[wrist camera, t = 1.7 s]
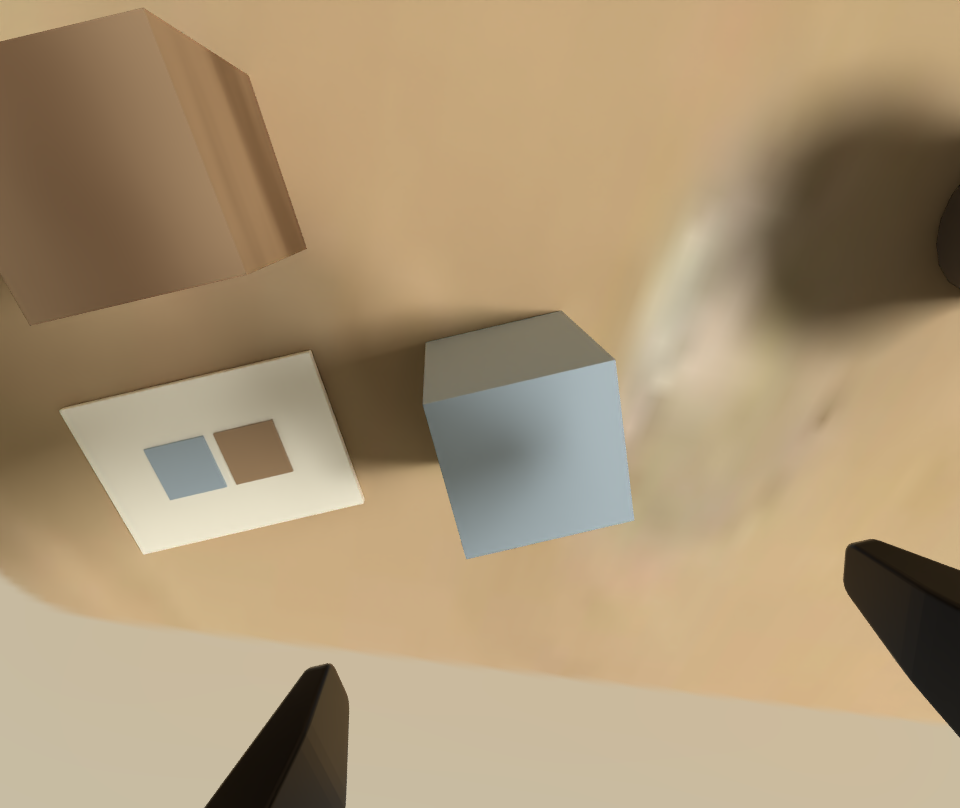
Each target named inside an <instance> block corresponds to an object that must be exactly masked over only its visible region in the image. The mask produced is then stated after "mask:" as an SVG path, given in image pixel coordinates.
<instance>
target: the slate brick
mask: <svg viewBox="0 0 960 808" xmlns="http://www.w3.org/2000/svg"><path fill="white" fill-rule="evenodd" d="M423 408H424V411H425V415H426V418H427V422H428V425H429V429H430V432H431V436H432V440H433V443H434V447H435V450H436V454H437V457H438V461H439V464H440V468H441V471H442V475H443V479H444V482H445V486H446V489H447V493H448V496H449V500H450V503H451V507H452V510H453V514H454V517H455V521H456V525H457V528H458V532H459V535H460V539H461V542H462V546H463V549H464V553H465V556H466V559H470V558H474V557H478V556H483V555H487V554H491V553H496V552H500V551H504V550H509V549H513V548H517V547H522V546H526V545H530V544H535V543H539V542H543V541H548V540H552V539H556V538H560V537H565V536H569V535H573V534H578V533H582V532H586V531H591V530H595V529H599V528H604V527H608V526H612V525H617V524H621V523H625V522H629V521H634V514H633V506H632V497H631V489H630V480H629V472H628V463H627V455H626V446H625V438H624V429H623V421H622V412H621V404H620V395H619V387H618V379H617V370H616V362H615V359H614V358H613V357H612V356H611V355H609V354H608V353H607V352H606V351H605V350H604V349H603V348H602V347H601V346H600V345H599V344H597V343H596V342H595V341H594V340H593V339H592V338H591V337H590V336H589V335H588V334H586V333H585V332H584V331H583V330H582V329H581V328H580V327H579V326H578V325H577V324H575V323H574V322H573V321H572V320H571V319H570V318H569V317H568V316H567V315H566V314H564V313H563V312H562V311H558V312H553V313H549V314H545V315H540V316H536V317H532V318H528V319H523V320H519V321H515V322H510V323H506V324H502V325H498V326H493V327H489V328H485V329H480V330H476V331H472V332H468V333H463V334H459V335H455V336H450V337H446V338H442V339H438V340H433V341H429V342H426V348H425V368H424V388H423Z"/></svg>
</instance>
